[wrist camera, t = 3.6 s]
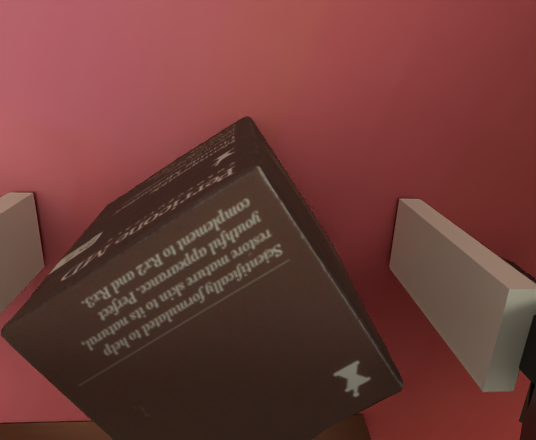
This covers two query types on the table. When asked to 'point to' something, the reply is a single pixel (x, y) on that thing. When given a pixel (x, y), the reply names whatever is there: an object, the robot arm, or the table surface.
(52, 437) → the wooden board
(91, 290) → the box
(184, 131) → the table surface
